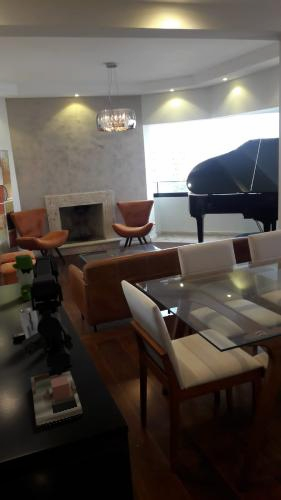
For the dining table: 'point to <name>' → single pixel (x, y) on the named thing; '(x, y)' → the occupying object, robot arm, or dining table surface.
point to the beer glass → (29, 321)
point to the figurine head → (24, 274)
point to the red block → (60, 387)
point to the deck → (52, 399)
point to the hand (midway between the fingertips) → (59, 373)
